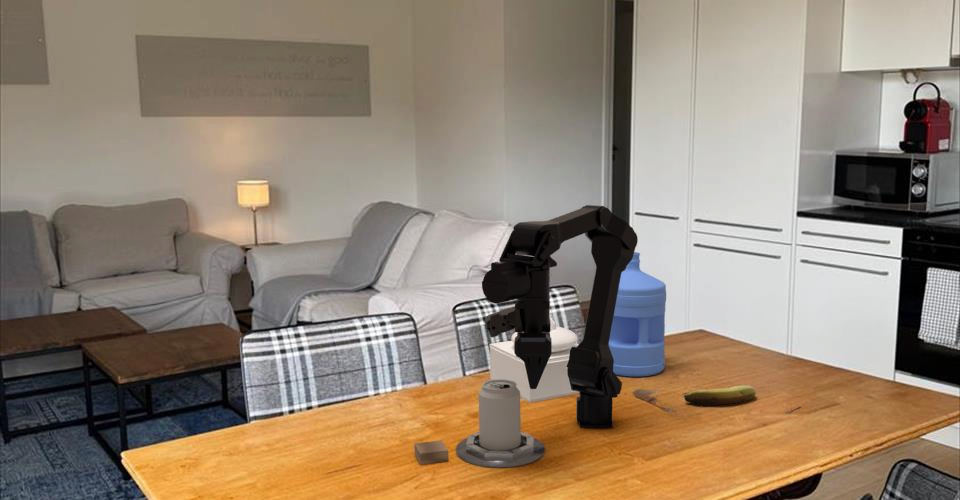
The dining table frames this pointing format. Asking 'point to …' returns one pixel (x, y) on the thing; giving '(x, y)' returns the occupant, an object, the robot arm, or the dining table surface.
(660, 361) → the water jug
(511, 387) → the can
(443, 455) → the walnut block
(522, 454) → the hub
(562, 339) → the butter dish
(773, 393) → the dining table surface
